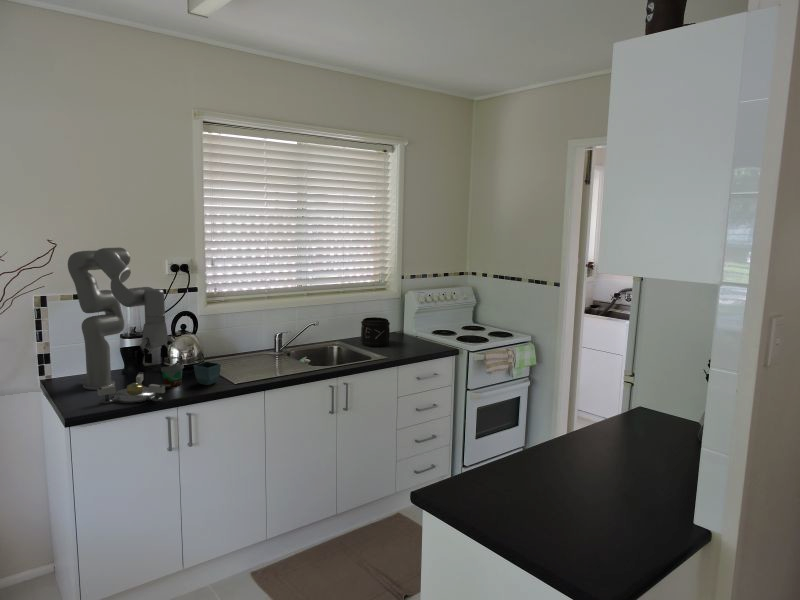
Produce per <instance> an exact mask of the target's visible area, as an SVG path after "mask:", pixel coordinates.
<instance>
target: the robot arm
mask: <svg viewBox="0 0 800 600" xmlns="http://www.w3.org/2000/svg"><path fill="white" fill-rule="evenodd" d="M130 262H131V255H130V253H129V252H128V250H127V249H125V248H124V247H104V248H103V247H102V248H100V249H97V250H81V251H76V252H73V253H72V254H70V255H69V257H68V260H67V271H68V273H69V275H70V277H71V279H72V281H73V283H74V284H73V285H74V286H75V291H76V296H77V300H78V303H79V307H80V309H81V311H82V312H83V313H85V314H95V313H96V314H97V313H103V312H104V314H100V315H99V314H98V315H93V316H88V317H86V318H85V319H83V320H82V322H81V331H82V336H83V340H84V349H85V350H84V351H85V366H86V367H85V370H86V371H85V372H86V374H83V375H82V376H81V377H80V380H81V381H84V383H83V385H82V388H83V389H85V390H91V391H95V390H96V391H97V388H98V387H101V388H102V387H108V386H113V385H114V386H116V381H115V380H113V379H112V373H111V372H112V371H111V348H110V344H109V342H108V341H107V340H106V338H105V337H109V336H113V335H118V334H120V333H122V332H123V331H124V328H125V319H124V316H123V315H124V314H123V312H122V308H121V305H122V306H123V307H126V308H133V307H140V306H141V307H143V306H144V324H143V329H142V341H141V343H140V344H139V347H140V350H141V351H142V353H143V354H144V355H143V356H144V363H145V364H152V363H153V354H152V352H153V349H156V348H160V358H162V359H163V358H164V359H168V358H169V348H170V344H171V340H172V337H171V335H169V334H168V330H167V329H168V328H167V323H166V313H165V312H166V309H165V308H166V307H165V292H164V290H163V289H161V288H153V287H150V286H142V287H141V286H140V287H131V288H127V287H126V286H125V284H124V283H125V282H126V281H127V280H128V279H129V278H130V276H131V268H130V267H129V266H128V265H129V264H130ZM96 270H97V271H99V270H101V271H102V272H103V273H104V274H105V275H106V276H107V277H108V278H109V279H110V289H102V290H100V289H99V287H98V282H97V279H96V278H95V277H94V276H93V274H91V273H90V272H89V271H96Z"/></svg>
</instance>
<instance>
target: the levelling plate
mask: <svg viewBox="0 0 800 600" xmlns="http://www.w3.org/2000/svg"><path fill="white" fill-rule="evenodd" d="M146 400H148V401H151V400H152V401H155V402H154V403H159V402H158V401H160V402H162V400H163V401H164V397H163V396H161V395H159V398H155V392H149V386H145V385H143V383H142V384H138V383H136V382H132V383H130V384H128V385H127V386H126V388H124V389H120V390H116V393H113V397H112V398H111V397H109V400H105V398H102V399H101V400H100V404H102V405H110V404H113V403H119V402H120V404H135V403H134V402H140V403H144V402H143V401H145V402H147V401H146ZM152 401H151V402H152Z"/></svg>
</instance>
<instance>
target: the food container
mask: <svg viewBox="0 0 800 600" xmlns="http://www.w3.org/2000/svg"><path fill="white" fill-rule="evenodd" d="M184 368H185V366H184V363H183V361H181V360H176V362H175V363H171V364H169V365H167V366H161V373H162V374H161V375H162V383H163V384H162V385H165V389H173V388H172V387H175V388H178V387H177V386H179V387H180V385H181V386H182V384H183V383H182V381H183V379H182V378H183V369H184Z"/></svg>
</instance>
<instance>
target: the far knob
mask: <svg viewBox="0 0 800 600" xmlns="http://www.w3.org/2000/svg"><path fill="white" fill-rule="evenodd" d="M148 387H149V392H155V398H159V396H160V394H164V393H166V388H165V385H163V384H155V383H151V384H148Z"/></svg>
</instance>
